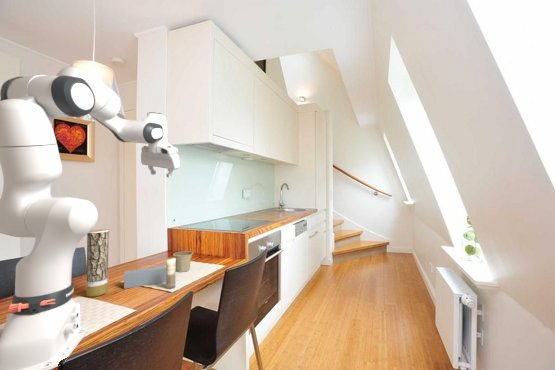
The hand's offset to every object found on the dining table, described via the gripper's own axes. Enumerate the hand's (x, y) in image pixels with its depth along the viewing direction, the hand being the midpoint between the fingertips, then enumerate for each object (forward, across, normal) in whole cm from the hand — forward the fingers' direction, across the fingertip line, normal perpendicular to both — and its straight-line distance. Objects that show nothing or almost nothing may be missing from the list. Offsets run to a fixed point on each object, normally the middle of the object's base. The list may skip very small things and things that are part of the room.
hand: (161, 175), depth 122 cm
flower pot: (+47, +15, -7) cm, 49 cm away
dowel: (+39, +24, -26) cm, 52 cm away
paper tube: (+38, +1, -40) cm, 55 cm away
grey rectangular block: (+41, +11, -26) cm, 50 cm away
